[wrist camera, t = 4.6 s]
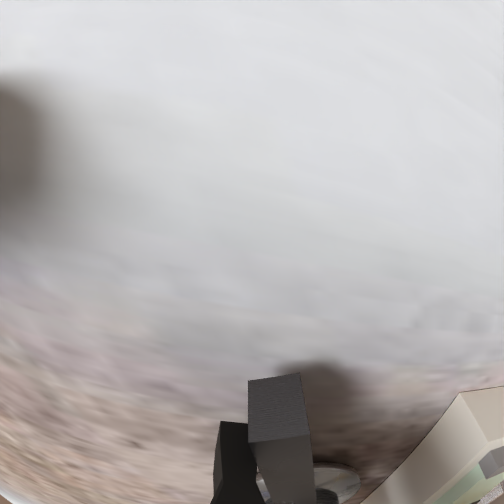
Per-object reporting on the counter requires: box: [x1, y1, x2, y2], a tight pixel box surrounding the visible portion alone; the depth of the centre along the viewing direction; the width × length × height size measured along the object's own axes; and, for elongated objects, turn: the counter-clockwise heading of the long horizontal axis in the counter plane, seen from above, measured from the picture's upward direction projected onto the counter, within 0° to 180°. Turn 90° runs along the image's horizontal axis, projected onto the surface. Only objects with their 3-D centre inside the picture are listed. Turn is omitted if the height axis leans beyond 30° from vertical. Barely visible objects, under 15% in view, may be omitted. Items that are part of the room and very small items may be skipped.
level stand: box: [360, 386, 504, 504], centre depth 14 cm, size 18×7×5 cm, turn 170°
